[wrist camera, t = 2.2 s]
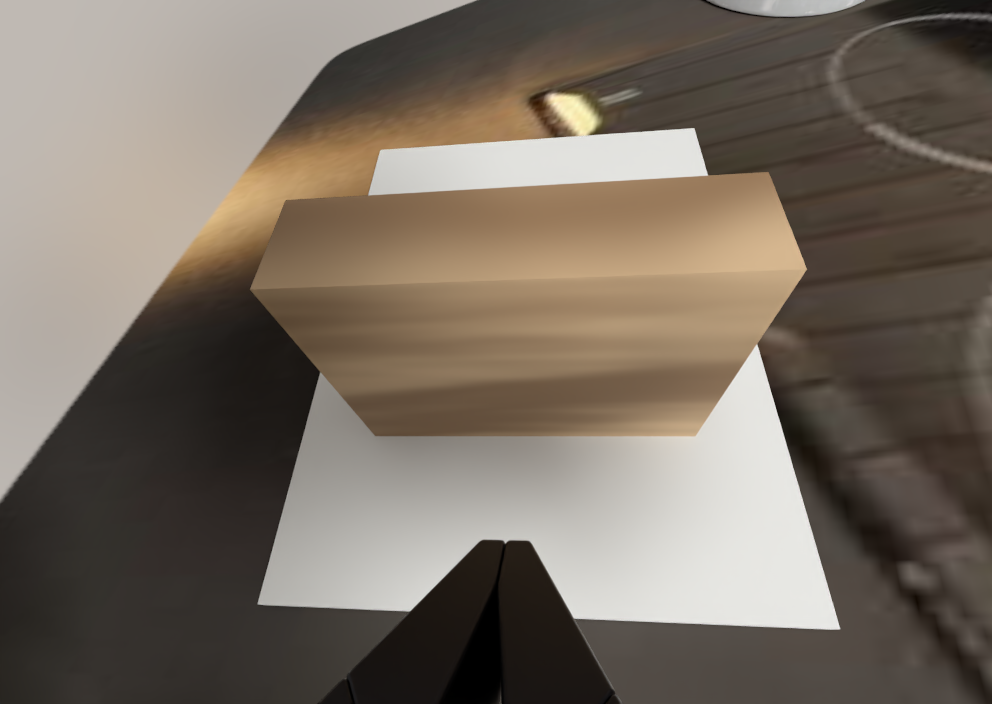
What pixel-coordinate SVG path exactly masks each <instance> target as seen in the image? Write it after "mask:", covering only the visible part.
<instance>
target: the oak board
mask: <svg viewBox="0 0 992 704" xmlns="http://www.w3.org/2000/svg"><path fill="white" fill-rule="evenodd" d="M806 270H807V268H806V266H805V263H804V261H803V258H802V256H801V253H800V251H799V248H798V245H797V243H796V240H795V238H794V235H793V233H792V230H791V228H790V225H789V223H788V220H787V218H786V215H785V213H784V210H783V208H782V205H781V203H780V200H779V197H778V195H777V192H776V190H775V187H774V185H773V182H772V180H771V177H770V175H769V172H762V173H745V174H728V175H711V176H693V177H676V178H659V179H642V180H625V181H608V182H590V183H573V184H556V185H539V186H522V187H504V188H487V189H470V190H453V191H436V192H419V193H401V194H384V195H367V196H350V197H333V198H316V199H298V200H286V201H285V203H284V206H283V208H282V211H281V213H280V216H279V218H278V221H277V223H276V226H275V228H274V231H273V233H272V236H271V238H270V241H269V243H268V246H267V248H266V251H265V253H264V256H263V258H262V261H261V263H260V266H259V268H258V271H257V273H256V276H255V278H254V281H253V283H252V286H251V288H250V290H251V291H252V293H253V294H254V295H255V296H256V297H257V298H258V300H259V301H260V302H261V303H262V304H263V305H264V307H265V308H266V309H267V310H268V311H269V312H270V314H271V315H272V316H273V317H274V318H275V319H276V321H277V322H278V323H279V324H280V325H281V326H282V328H283V329H284V330H285V331H286V332H287V333H288V335H289V336H290V337H291V338H292V339H293V340H294V342H295V343H296V344H297V345H298V346H299V348H300V349H301V350H302V351H303V352H304V353H305V355H306V356H307V357H308V358H309V359H310V360H311V362H312V363H313V364H314V365H315V366H316V367H317V369H318V370H319V371H320V372H321V373H322V374H323V376H324V377H325V378H326V379H327V380H328V381H329V383H330V384H331V385H332V386H333V387H334V388H335V390H336V391H337V392H338V393H339V394H340V395H341V397H342V398H343V399H344V400H345V401H346V402H347V404H348V405H349V406H350V407H351V408H352V410H353V411H354V412H355V413H356V414H357V415H358V417H359V418H360V419H361V420H362V421H363V422H364V424H365V425H366V426H367V427H368V428H369V429H370V431H371V432H372V433H373V434H374V435H375V436H696V435H697V433H698V432H699V430H700V429H701V427H702V426H703V424H704V423H705V421H706V420H707V418H708V417H709V415H710V414H711V412H712V411H713V409H714V408H715V406H716V405H717V403H718V402H719V400H720V399H721V397H722V396H723V394H724V393H725V391H726V390H727V388H728V387H729V385H730V384H731V382H732V381H733V379H734V378H735V376H736V375H737V373H738V372H739V370H740V369H741V367H742V366H743V364H744V363H745V361H746V360H747V358H748V357H749V355H750V354H751V352H752V351H753V349H754V348H755V346H756V345H757V343H758V342H759V340H760V339H761V337H762V336H763V334H764V333H765V331H766V330H767V328H768V327H769V325H770V324H771V322H772V321H773V319H774V318H775V316H776V315H777V313H778V312H779V310H780V309H781V307H782V306H783V304H784V303H785V301H786V300H787V298H788V297H789V295H790V294H791V292H792V291H793V289H794V288H795V286H796V285H797V283H798V282H799V280H800V279H801V277H802V276H803V274H804V273H805V271H806Z"/></svg>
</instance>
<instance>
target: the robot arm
mask: <svg viewBox="0 0 992 704" xmlns="http://www.w3.org/2000/svg"><path fill="white" fill-rule="evenodd" d="M500 695H501V698H502V704H622V702H621V701H620V699H619V697H618V696H617V695H615V691H614V689H613V687H612V685H611V683H610V682H609V680H608V678H607V676H606V675H605V673H604V671H603V669H602V667H601V666H600V664H599V662H598V660H597V659H596V657H595V655H594V653H593V651H592V650H591V648H590V646H589V644H588V643H587V641H586V639H585V637H584V635H583V634H582V632H581V630H580V628H579V627H578V625H577V623H576V621H575V619H574V618H573V616H572V614H571V612H570V611H569V609H568V607H567V605H566V603H565V602H564V600H563V598H562V596H561V594H560V593H559V591H558V589H557V587H556V586H555V584H554V582H553V580H552V578H551V577H550V575H549V573H548V571H547V570H546V568H545V566H544V564H543V562H542V561H541V559H540V557H539V555H538V554H537V552H536V550H535V548H534V546H533V545H532V543H531V542H530V541H527V540H509V541H507V542H506V544H505V542H504V541H503V540H485V539H484V540H481V541H479V542H478V543H477V544H476V545H475V546H474V547H473V548H472V549H471V550H470V551H469V552H468V553H467V554H466V555H465V556H464V557H463V558H462V559H461V560H460V561H459V562H458V563H457V564H456V565H455V566H454V567H453V568H452V569H451V570H450V571H449V573H448V574H447V575H446V576H445V577H444V578H443V579H442V580H441V581H440V582H439V583H438V584H437V585H436V586H435V587H434V588H433V589H432V590H431V591H430V592H429V593H428V594H427V595H426V596H425V597H424V598H423V599H422V600H421V601H420V602H419V603H418V604H417V605H416V606H415V607H414V608H413V609H412V610H411V611H410V612H409V613H408V614H407V615H406V616H405V617H404V618H403V619H402V620H401V621H400V622H399V623H398V624H397V625H396V626H395V627H394V628H393V629H392V630H391V631H390V632H389V633H388V634H387V635H386V636H385V637H384V638H383V639H382V640H381V641H380V642H379V643H378V644H377V645H376V646H375V647H374V648H373V649H372V650H371V651H370V652H369V653H368V654H367V655H366V656H365V657H364V658H363V659H362V660H361V661H360V662H359V663H358V664H357V665H356V666H355V667H354V668H353V669H352V670H351V671H350V672H349V673H348V674H347V679H345V678H344V679H342V680H341V681H340V682H339V683H338V684H337V685H336V686H335V687H334V688H333V689H332V690H331V691H330V692H329V693H328V694H327V695H326V696H325V697H324V698H323V699H322V700H321V701H320V702H319V703H318V704H499V702H500Z"/></svg>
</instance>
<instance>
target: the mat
mask: <svg viewBox="0 0 992 704" xmlns="http://www.w3.org/2000/svg"><path fill="white" fill-rule="evenodd" d="M693 176H708V174H707V171H706V167H705V164H704V160H703V157H702V154H701V150H700V147H699V143H698V140H697V136H696V133H695V130H694V128H692V129H677V130H663V131H648V132H634V133H619V134H605V135H590V136H576V137H561V138H547V139H532V140H518V141H503V142H489V143H475V144H460V145H446V146H431V147H417V148H402V149H388V150H380V153H379V157H378V161H377V164H376V168H375V172H374V175H373V179H372V183H371V187H370V190H369V194H368V195H384V194H401V193H419V192H436V191H453V190H470V189H487V188H504V187H522V186H539V185H556V184H573V183H590V182H608V181H625V180H642V179H659V178H676V177H693ZM484 539H485V540H503V541H504V542H505V544H506V542H507V541H509V540H527V541H530V542H531V543H532V545H533V546H534V548H535V550H536V552H537V554H538V555H539V557H540V559H541V561H542V562H543V564H544V566H545V568H546V570H547V571H548V573H549V575H550V577H551V578H552V580H553V582H554V584H555V586H556V587H557V589H558V591H559V593H560V594H561V596H562V598H563V600H564V602H565V603H566V605H567V607H568V609H569V611H570V612H571V614H572V616H573V618H574V619H595V620H618V621H641V622H664V623H688V624H711V625H734V626H757V627H780V628H804V629H827V630H835V629H840V627H839V623H838V620H837V616H836V613H835V610H834V606H833V603H832V599H831V596H830V592H829V589H828V586H827V582H826V579H825V575H824V572H823V568H822V565H821V562H820V558H819V555H818V551H817V548H816V544H815V541H814V538H813V534H812V531H811V527H810V524H809V520H808V517H807V514H806V510H805V507H804V503H803V500H802V496H801V493H800V490H799V486H798V483H797V479H796V476H795V472H794V469H793V466H792V462H791V459H790V455H789V452H788V448H787V445H786V442H785V438H784V435H783V431H782V428H781V424H780V421H779V418H778V414H777V411H776V407H775V404H774V400H773V397H772V394H771V390H770V387H769V383H768V380H767V376H766V373H765V370H764V366H763V363H762V359H761V356H760V352H759V349H758V346H757V345H756V346H755V348H754V349H753V351H752V352H751V354H750V355H749V357H748V358H747V360H746V361H745V363H744V364H743V366H742V367H741V369H740V370H739V372H738V373H737V375H736V376H735V378H734V379H733V381H732V382H731V384H730V385H729V387H728V388H727V390H726V391H725V393H724V394H723V396H722V397H721V399H720V400H719V402H718V403H717V405H716V406H715V408H714V409H713V411H712V412H711V414H710V415H709V417H708V418H707V420H706V421H705V423H704V424H703V426H702V427H701V429H700V430H699V432H698V433H697V435H696V436H375V435H374V434H373V433H372V432H371V431H370V429H369V428H368V427H367V426H366V425H365V424H364V422H363V421H362V420H361V419H360V418H359V417H358V415H357V414H356V413H355V412H354V411H353V410H352V408H351V407H350V406H349V405H348V404H347V402H346V401H345V400H344V399H343V398H342V397H341V395H340V394H339V393H338V392H337V391H336V390H335V388H334V387H333V386H332V385H331V384H330V383H329V381H328V380H327V379H326V378H325V377H324V376H323V374H322V373H321V372H320V375H319V379H318V383H317V386H316V390H315V394H314V397H313V401H312V405H311V408H310V412H309V416H308V419H307V423H306V427H305V431H304V434H303V438H302V442H301V445H300V449H299V453H298V456H297V460H296V464H295V468H294V471H293V475H292V479H291V482H290V486H289V490H288V493H287V497H286V501H285V505H284V508H283V512H282V516H281V519H280V523H279V527H278V530H277V534H276V538H275V542H274V545H273V549H272V553H271V556H270V560H269V564H268V567H267V571H266V575H265V578H264V582H263V586H262V590H261V593H260V597H259V601H258V604H260V605H270V606H293V607H316V608H339V609H363V610H386V611H409V612H410V611H411V610H412V609H413V608H414V607H415V606H416V605H417V604H418V603H419V602H420V601H421V600H422V599H423V598H424V597H425V596H426V595H427V594H428V593H429V592H430V591H431V590H432V589H433V588H434V587H435V586H436V585H437V584H438V583H439V582H440V581H441V580H442V579H443V578H444V577H445V576H446V575H447V574H448V573H449V571H450V570H451V569H452V568H453V567H454V566H455V565H456V564H457V563H458V562H459V561H460V560H461V559H462V558H463V557H464V556H465V555H466V554H467V553H468V552H469V551H470V550H471V549H472V548H473V547H474V546H475V545H476V544H477V543H478V542H479V541H481V540H484Z"/></svg>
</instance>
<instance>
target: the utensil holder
mask: <svg viewBox="0 0 992 704" xmlns="http://www.w3.org/2000/svg"><path fill="white" fill-rule="evenodd" d="M707 1H708V2H711V3H713V4H715V5H718V6H720V7H723V8H726V9H729V10H733V11H738V12H742V13H748V14H753V15H761V16H772V17H803V16H814V15H822V14H827V13H832V12H837V11H840V10H844V9H847V8H850V7H852V6H855V5H857V4H859V3H861V2H863V1H865V0H707Z"/></svg>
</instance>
